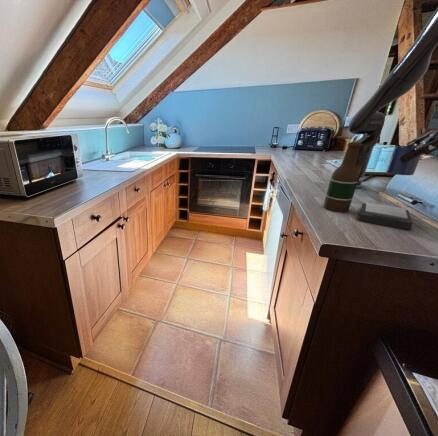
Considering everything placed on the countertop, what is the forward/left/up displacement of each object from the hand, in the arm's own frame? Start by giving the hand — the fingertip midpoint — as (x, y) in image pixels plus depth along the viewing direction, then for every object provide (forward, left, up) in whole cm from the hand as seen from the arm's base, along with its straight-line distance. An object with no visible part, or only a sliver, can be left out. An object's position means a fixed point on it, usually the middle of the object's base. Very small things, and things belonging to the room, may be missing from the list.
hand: (397, 158), depth 76 cm
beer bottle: (-1, -12, -20) cm, 23 cm away
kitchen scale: (+1, +2, -20) cm, 20 cm away
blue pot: (0, +2, -4) cm, 5 cm away
